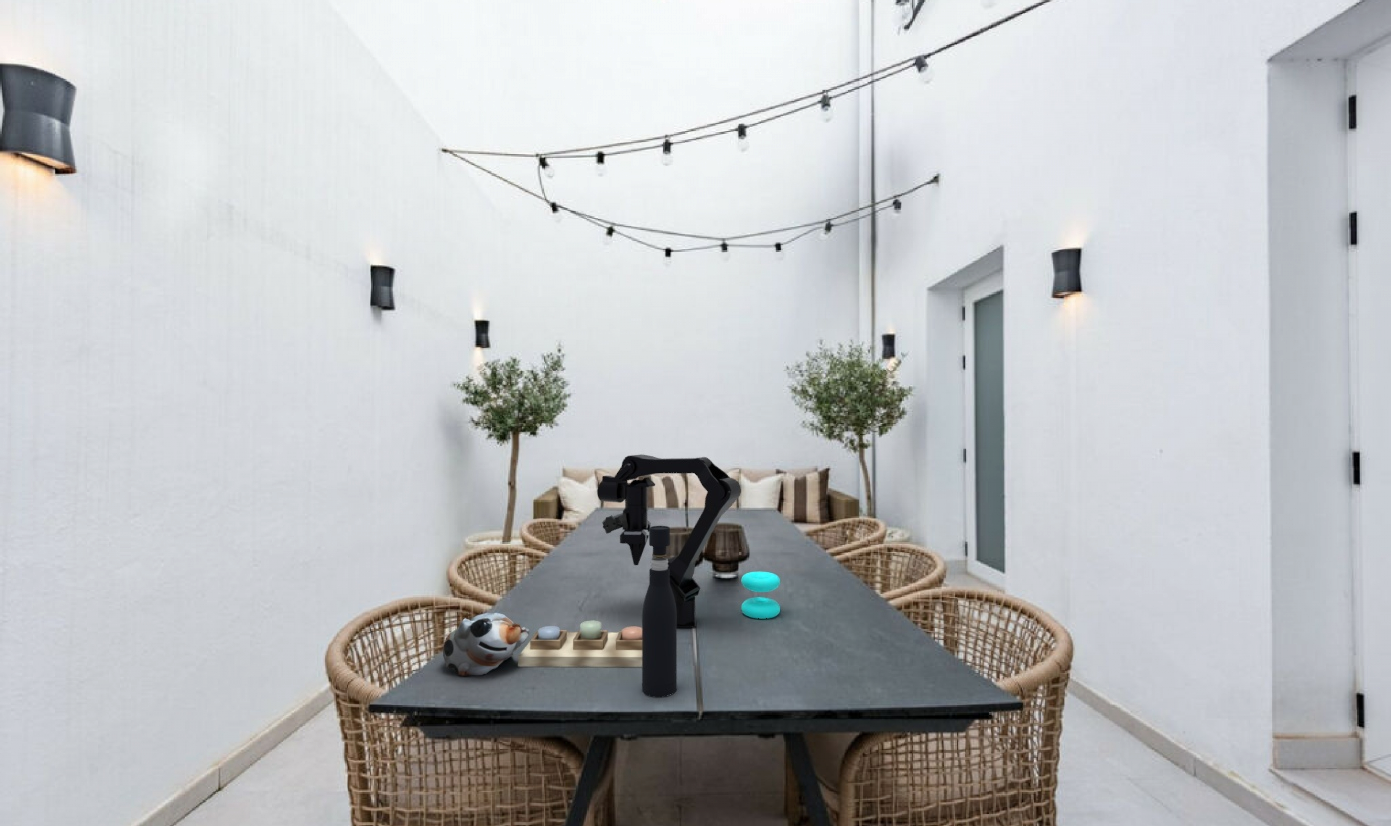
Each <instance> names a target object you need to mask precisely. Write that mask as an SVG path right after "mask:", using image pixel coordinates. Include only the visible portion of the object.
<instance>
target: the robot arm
mask: <svg viewBox="0 0 1391 826" xmlns="http://www.w3.org/2000/svg"><path fill="white" fill-rule="evenodd" d="M656 474H695V476H696V477H697V479H698V481H699V482H700V484H701V486H702V487H703V488H704V490H705V491H706V495H705V499H704V508H703V511H702V512H701V514H700V516H699V518H698V520H697V521H696V523H695V525H694V527H693V528H692V530H691V531H690V534H689V536H688V537H687V539H686V541H685V542H684V545H683V547H682V548H681V550H680V552H679V554H677V555H675V556H672V557H670V558H667V559H668V568H669V569H670V586H671V589H672V592H673V595H674V599H675V604H676V610H677V629H678V628H680V629H681V628H685V629H687V628H689V629H690V628H691V629H693V628H694V629H695V628H696V624H697V623H696V621H697V618H696V597H697V596H699V594H700V591H701V587H700V585H699V584H698V582H696V580H695V579H694V578H693V576H694V574H695V568H696V567H695V566H696V562H697V560H698V558H699V556H700V554H701V553H702V551H703V549H704V547H705V546H706V544H707V542H708V540H709V539H710V536H711V535H712V534H713V532H714V529H715V527H716V526H717V525H718V522H719V521H720V519H721V517H722V516H723V514H725V513H726V512H727V511H728V510H729V509H730V508H732V506H733V505H734V503H735V502H736V501H737V500H738V498H739V497H740V496H741V493H742V488H741V485H740V482H739V481H738V480H736V479H735V478H732V477H730V476H729V474H727V473H726V472H725V471H724V470H722V469H721V468H719V466H717V465H716V464H714V463H713V461H712V460H711V459H710V458H708V457H707V456H706V457H705V456H702V457H700V456H699V457H691V458H690V457H688V458H684V457H683V458H682V457H681V458H675V457H674V458H660V457H656V456H652V455H646V454H631V455H627V456H625V457H624V458H623V460H622V462H621V466H620V468H619V469H618V471H617V473H616V474H615V475H614V476H612V475H602V476H601V477H602V478H601V482H600V483H599V485H598V488H597V490H596V494H597V498H598V500H599V502H600V501H601V502H607V503H608V502H609V503H623V502H624V509H622V513H618V514H616V515H612V514H611V515H610V516H607V517H605V519H603V521H602V522H601V523H602V528H603V530H604V531H605V533H606V534H607V535H608V534H610V533H612V532H614V531H616V530H620V529H621V528H622V530H623V531H622V532H621V533H620V535H619V543H620V544H621V545H622V544H623V545H624V544H627V545H628V546H629V550H630V555H631V558H632V563H633V566H639V564H640V560H641V558H642V554H643V553H644V550H645V548H646V545H647V542H648V541H649V534H647V532H648V533H649V528H650V527H652V525H651V522H650V521H649V519H648V512H649V506H648V488H651V487H655V486H656V483H655V482H654V481H653V480H652V479H651V478H650V476H651V475H656ZM646 476H647V477H646ZM648 476H649V477H648ZM642 477H644V478H643V479H638V478H642ZM629 481H630V482H629ZM646 531H647V532H646Z"/></svg>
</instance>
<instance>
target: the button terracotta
mask: <svg viewBox="0 0 1391 826" xmlns="http://www.w3.org/2000/svg"><path fill="white" fill-rule="evenodd" d="M621 630H622V640H642V626H633V625H632V626H631V625H630V626H626V627H624V628H622V629H621Z"/></svg>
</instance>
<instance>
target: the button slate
mask: <svg viewBox="0 0 1391 826" xmlns="http://www.w3.org/2000/svg"><path fill="white" fill-rule="evenodd" d="M560 630H561V629H560V627H559V626H556V625H545V626H543V627H540V628H539V629H538V630H537V631H538V640H558V639H559V637H560Z"/></svg>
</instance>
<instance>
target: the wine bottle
mask: <svg viewBox="0 0 1391 826" xmlns="http://www.w3.org/2000/svg"><path fill="white" fill-rule="evenodd" d="M648 535H649V537H648V542H649V546H650V547H652V558H651V560H650V567H651V568H649V572H648V573H649V578H648V579H649V580H648V581H649V584H648V587H647V591H646V594H645V597H644V600H643V606H642V612H641V628H642V667H641V685H642V686H641V690H642V691H641V692H644V693H643V694H645V695H647V696H649V695H650V696H649V697H653V696H655V697H654V698H663V697H662V696H664V697H668V696H667V695H669V696H671V695H673V694H675V693H676V692H677V690H678V689H677V687H678V686H677V684H678V683H677V680H678V679H677V678H678V675H677V673H678V671H677V666H678V665H677V654H678V653H677V652H678V651H677V649H678V648H677V643H678V642H677V641H678V640H677V635H678V634H677V633H678V631H677V629H678V628H677V610H676V604H675V599H674V595H673V592H672V589H671V586H670V569H669V568H668V559H669V558H667V556H668V555H667V547H668V546H670V544H671V528H670V526H667V525H654V526H652V525H651V527H650V528H649V532H648ZM674 692H675V693H674ZM672 693H673V694H672ZM670 694H671V695H670Z"/></svg>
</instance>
